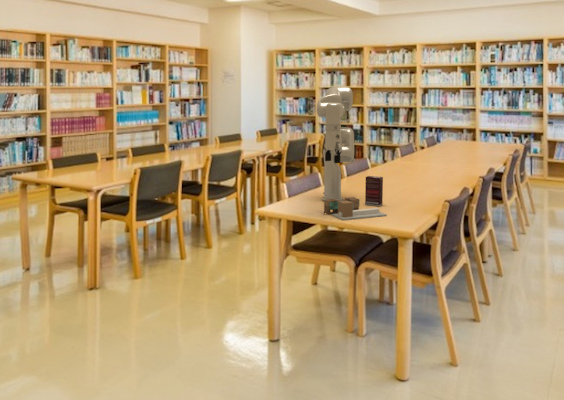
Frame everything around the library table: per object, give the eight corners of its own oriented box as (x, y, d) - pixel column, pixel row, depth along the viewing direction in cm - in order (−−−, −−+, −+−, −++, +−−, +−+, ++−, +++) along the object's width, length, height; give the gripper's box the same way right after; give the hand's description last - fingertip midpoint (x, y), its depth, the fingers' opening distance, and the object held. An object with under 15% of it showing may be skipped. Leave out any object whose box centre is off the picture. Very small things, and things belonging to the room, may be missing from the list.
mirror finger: (344, 210, 308) (344, 197, 307) (354, 209, 310) (354, 196, 309) (350, 212, 303) (350, 199, 301) (359, 211, 305) (360, 198, 304)
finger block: (329, 215, 298) (329, 201, 297) (324, 212, 303) (324, 199, 302) (339, 213, 300) (339, 200, 299) (334, 211, 305) (334, 198, 304)
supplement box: (382, 205, 322) (383, 176, 319) (379, 206, 318) (380, 177, 315) (368, 203, 326) (368, 175, 323) (364, 205, 322) (365, 176, 319)
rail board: (331, 215, 296) (331, 200, 295) (373, 211, 306) (374, 196, 304) (343, 220, 286) (343, 204, 284) (386, 215, 295) (387, 200, 294)
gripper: (348, 128, 287) (347, 163, 290) (331, 127, 303) (331, 159, 306) (334, 129, 284) (334, 164, 288) (318, 127, 300) (318, 160, 303)
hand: (332, 161), depth 297 cm, fingers open, 9 cm apart
